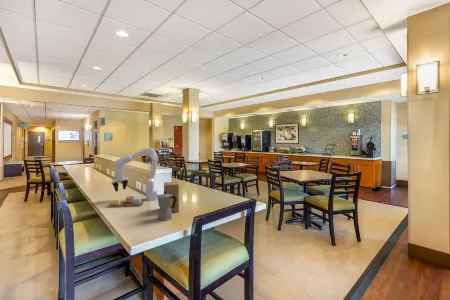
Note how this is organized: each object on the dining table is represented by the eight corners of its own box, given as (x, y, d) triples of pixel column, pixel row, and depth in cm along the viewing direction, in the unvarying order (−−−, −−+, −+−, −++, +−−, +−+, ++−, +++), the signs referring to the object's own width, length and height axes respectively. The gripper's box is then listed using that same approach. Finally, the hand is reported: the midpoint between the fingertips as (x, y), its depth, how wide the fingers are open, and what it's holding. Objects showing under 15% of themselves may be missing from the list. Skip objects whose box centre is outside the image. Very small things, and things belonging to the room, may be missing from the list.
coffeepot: (152, 219, 144) (151, 191, 143) (161, 214, 153) (160, 188, 152) (172, 222, 139) (172, 194, 138) (180, 217, 147) (180, 190, 146)
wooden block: (164, 213, 156) (164, 185, 155) (164, 209, 165) (163, 182, 164) (178, 212, 158) (178, 184, 157) (178, 208, 168) (177, 181, 167)
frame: (143, 204, 177) (143, 200, 177) (141, 207, 169) (140, 203, 169) (112, 205, 174) (112, 202, 174) (108, 208, 166) (108, 205, 166)
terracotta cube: (134, 201, 184) (133, 195, 184) (132, 203, 179) (132, 197, 179) (127, 202, 183) (127, 196, 183) (125, 203, 178) (125, 197, 178)
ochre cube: (120, 204, 173) (120, 198, 173) (118, 206, 168) (118, 199, 168) (114, 204, 173) (113, 198, 172) (111, 206, 168) (111, 200, 168)
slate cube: (140, 203, 176) (140, 197, 175) (139, 205, 171) (139, 199, 170) (134, 204, 175) (134, 197, 175) (132, 206, 170) (132, 199, 170)
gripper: (123, 172, 190) (124, 188, 191) (108, 174, 177) (109, 191, 178) (129, 172, 188) (130, 188, 188) (115, 175, 174) (115, 192, 175)
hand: (120, 190), depth 183 cm, fingers open, 7 cm apart
